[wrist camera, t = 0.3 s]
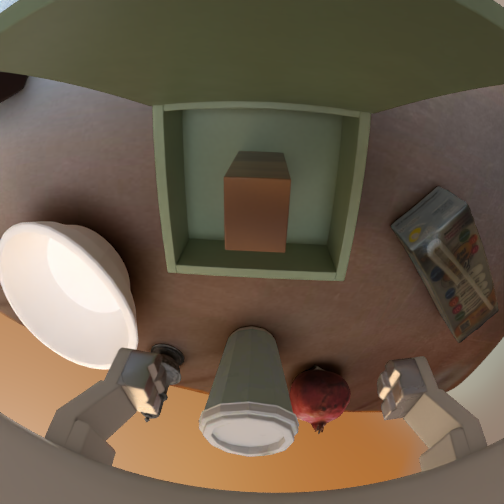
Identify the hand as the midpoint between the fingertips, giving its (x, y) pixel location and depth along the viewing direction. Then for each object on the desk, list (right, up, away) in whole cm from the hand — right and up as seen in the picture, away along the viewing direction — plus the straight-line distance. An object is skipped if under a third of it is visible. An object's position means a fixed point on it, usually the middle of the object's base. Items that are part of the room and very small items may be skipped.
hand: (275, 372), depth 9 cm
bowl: (-22, +2, +24) cm, 33 cm away
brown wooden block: (0, +11, +16) cm, 19 cm away
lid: (-1, +11, +1) cm, 12 cm away
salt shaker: (-14, -11, +31) cm, 36 cm away
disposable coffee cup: (-1, -8, +28) cm, 29 cm away
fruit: (+9, -15, +32) cm, 36 cm away
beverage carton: (+23, +3, +20) cm, 31 cm away
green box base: (0, +11, +17) cm, 20 cm away
